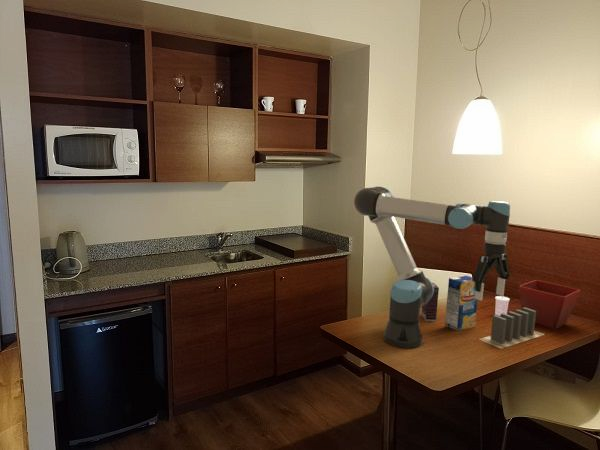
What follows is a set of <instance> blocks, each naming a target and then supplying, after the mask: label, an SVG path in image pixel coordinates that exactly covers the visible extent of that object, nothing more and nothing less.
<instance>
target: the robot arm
mask: <svg viewBox="0 0 600 450" xmlns="http://www.w3.org/2000/svg"><path fill="white" fill-rule="evenodd" d="M353 205H354V208H355V210H356V211H357V212H358V213H359V214H360V215H362V216H367V217H368V219H369V221H370V223H372V224H375V226H376V228H377V230H378V233H379V235H380V236H381V239H382V241H383V244H384V246H385V249H386V251H387V254H388V256H389V258H390V260H391V262H392V265H393V266H394V269H395V271H396V275H397V279H396V281H395V282H393V283H392V285H391V288H390V297H389V298H390V299H389V300H390V301H389V315H388V322H387V324H386V325H385V326H386V327H385V330H384V331H383V337H382V338H383V341H384V342H385V343H387V344H389V345H391V346H393V347H396V348H402V349H403V348H404V349H412V348H413V349H414V348H418V347H420V346H422V345H423V334H422V332H421V327H420V315H421V313H420V312H421V309H422V307H423V306H424V305H425V304H427V303H428V302H429V301H430V300H431V298H432V296H433V293H434V288H433V285H432V283H433V282H432V281H431V279H429V278H428V277H426V275H425V273H424V271H423V270H422V269H420V268H418V267H417V264H416V262H415V259H414V258H413V256H412V253H411V251H410V249H409V246H408V245H407V242H406V239H405V237H404V236H403V233H402V230H401V229H400V226H399V224H398V222H397V219H396V218H400V219H407V220H412V221H419V222H425V223H431V224H438V225H444V226H449V227H453V228H454V229H459V230H464V229H466V228H468V227H470V226H471V225H477V226H485V233H484V234H485V235H484V241H485V242H484V245H483V252H484V253H485V256H482V255H480V256H479V259H478V263H477V266H476V269H475V271H474V274H473V277H472V278H473V279H472V281H474V282H476V288H475V290H476V291H475V299H478V301H483V297H484V288H485V283H484V281H485V279H486V278H487V276H488V274H489V272H490V271H491V270H492V269H493V268H495V269H496V272H497V275H498V276H499V277H498V278H497V283H496V284H497V285H496V289H495V291H496V292H495V294H496V295H497V296H503V297H505V296H504V294H505V287H506V280H509V278H510V276H511V273H510V266H509V262H508V254H506V251H507V244H506V243H507V239H508V231H509V223H510V218H511V216H510V215H511V214H510V213H511V204H510V203H509V202H507V201H502V200H498V201H497V200H491V201H489V202H488V204H487V205H482V204H481V205H480V204H469V203H456V204H455V205H450V204H445V203H437V202H430V201H424V200H423V201H422V200H415V199H408V198H401V197H395V196H394V195H393V193H392V192H391V191H390V190H389V189H388V188H386V187H382V186H374V187H373V186H372V187H364V188H362V189H360V190H359V191H357V193H356V194H355V195H354V199H353ZM431 282H432V283H431Z"/></svg>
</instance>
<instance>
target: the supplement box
mask: <svg viewBox="0 0 600 450" xmlns="http://www.w3.org/2000/svg"><path fill="white" fill-rule="evenodd" d="M431 283H432V285H433V288H434V293H433V296H432V298H431V300H430V301H429V302H428V303H427V304H425V305H424V306H423V307H422V308H421V313H420V315H421V316H422V318H423V319H424V321H426V322H437V311H438V303H439V301H438V300H439V291H440V288H439V286H438V285H437V284H436V283H435V282H432V281H431Z"/></svg>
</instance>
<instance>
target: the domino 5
mask: <svg viewBox="0 0 600 450" xmlns="http://www.w3.org/2000/svg"><path fill="white" fill-rule="evenodd" d="M521 311H524V312H527V313H529V320H528V329H527V333H528V334H531V335H532V334H534V331H535V328H536V327H535V324H536V323H535V318H536V311H535V310H532V309H528V308H525V307H524V308H523V310H522V309H521Z"/></svg>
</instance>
